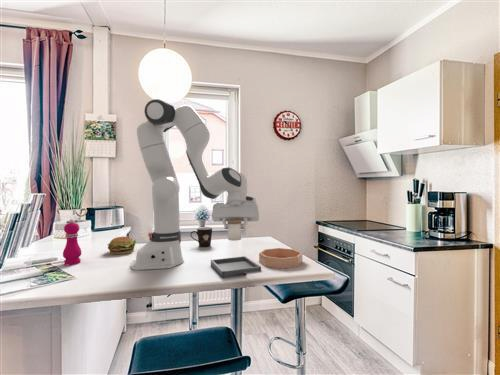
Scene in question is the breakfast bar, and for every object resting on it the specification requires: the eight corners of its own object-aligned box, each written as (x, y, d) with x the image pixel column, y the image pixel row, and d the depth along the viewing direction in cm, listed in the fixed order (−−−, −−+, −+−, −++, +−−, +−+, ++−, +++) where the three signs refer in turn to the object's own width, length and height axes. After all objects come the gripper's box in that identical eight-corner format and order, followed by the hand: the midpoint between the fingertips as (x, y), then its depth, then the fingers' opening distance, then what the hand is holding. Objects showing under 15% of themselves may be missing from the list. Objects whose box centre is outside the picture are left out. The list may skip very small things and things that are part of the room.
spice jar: (230, 241, 118) (229, 221, 118) (226, 238, 124) (225, 219, 124) (243, 239, 121) (243, 220, 120) (239, 237, 126) (238, 218, 126)
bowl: (271, 272, 118) (271, 260, 118) (254, 261, 134) (254, 250, 134) (308, 267, 124) (308, 255, 124) (288, 257, 141) (288, 247, 141)
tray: (222, 278, 111) (222, 271, 111) (210, 265, 128) (210, 259, 128) (261, 273, 117) (260, 266, 117) (245, 261, 134) (245, 256, 134)
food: (103, 256, 145) (103, 240, 145) (111, 250, 159) (110, 235, 159) (133, 254, 148) (132, 239, 148) (138, 248, 162) (137, 234, 161)
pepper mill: (59, 264, 131) (58, 220, 130) (73, 260, 138) (72, 218, 137) (71, 266, 128) (70, 220, 128) (85, 261, 135) (84, 218, 135)
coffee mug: (213, 244, 171) (213, 227, 170) (210, 247, 162) (210, 229, 162) (194, 244, 172) (194, 227, 172) (190, 247, 163) (189, 229, 163)
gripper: (212, 198, 129) (208, 223, 120) (258, 198, 128) (258, 223, 119) (214, 207, 134) (210, 232, 124) (259, 207, 133) (259, 232, 123)
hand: (234, 228), depth 122 cm, fingers closed on spice jar, 5 cm apart
